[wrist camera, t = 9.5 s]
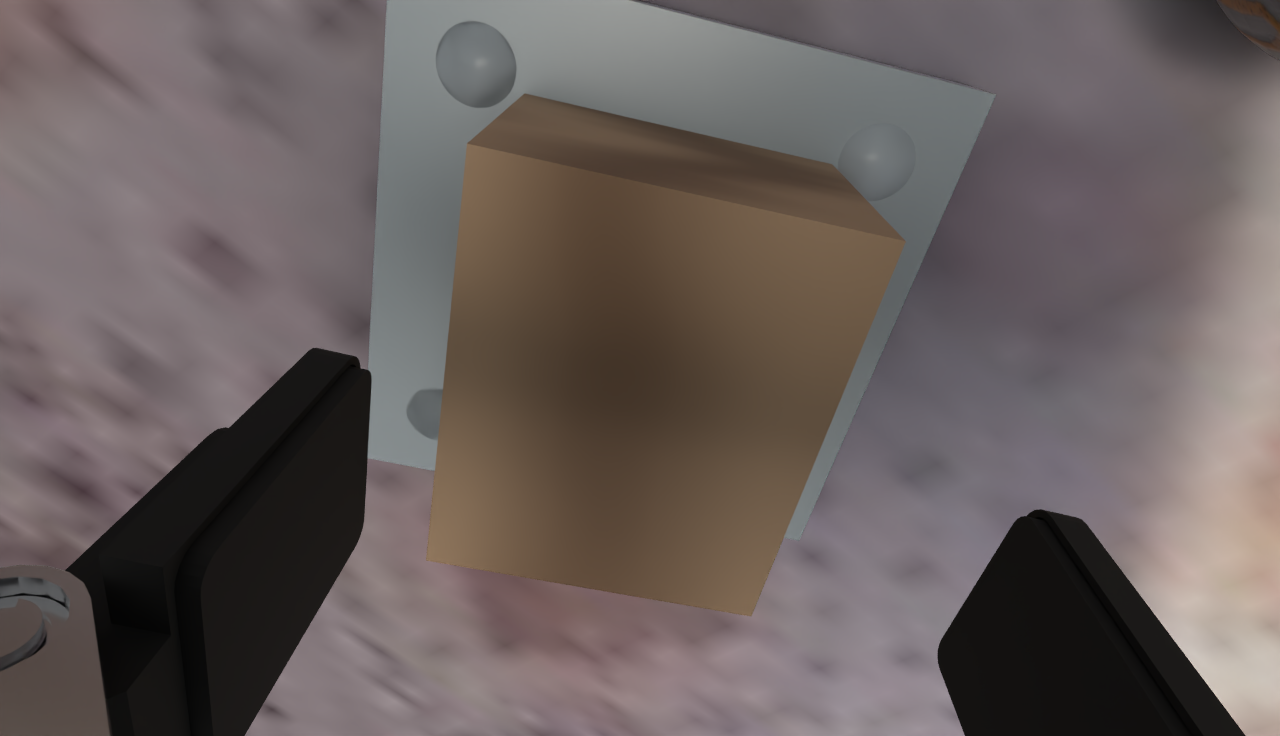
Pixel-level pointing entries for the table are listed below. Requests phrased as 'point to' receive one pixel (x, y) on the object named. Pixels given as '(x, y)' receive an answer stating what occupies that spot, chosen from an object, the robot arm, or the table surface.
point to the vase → (1256, 22)
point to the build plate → (645, 90)
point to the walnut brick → (644, 352)
